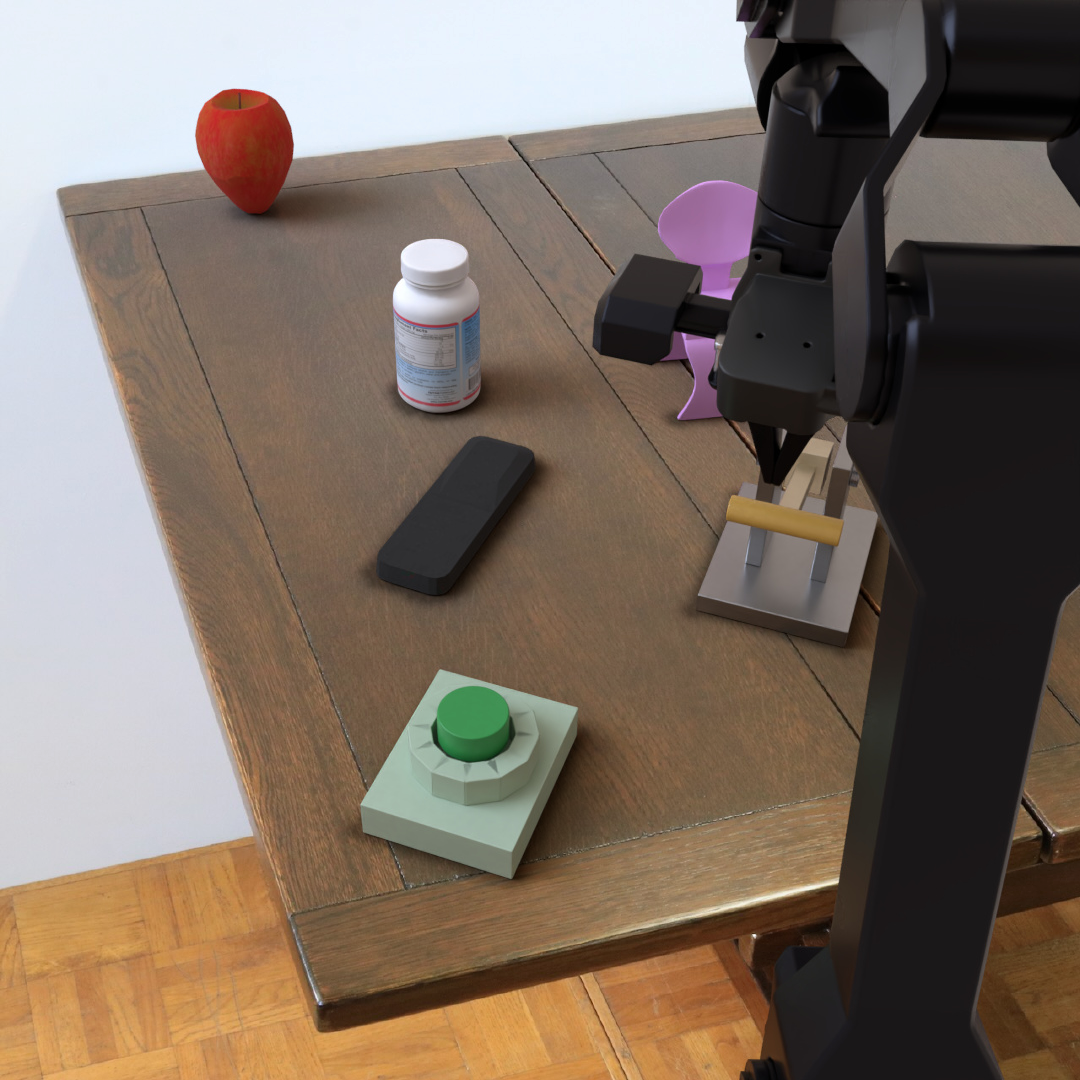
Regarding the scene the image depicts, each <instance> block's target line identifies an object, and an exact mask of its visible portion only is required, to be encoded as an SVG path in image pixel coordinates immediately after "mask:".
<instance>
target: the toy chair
mask: <svg viewBox="0 0 1080 1080" xmlns="http://www.w3.org/2000/svg"><path fill="white" fill-rule="evenodd" d="M757 193H758V191H755V190H753V189H751V188H749V187H748V186H745V185H742V184H739V183H736V182H732V181H730V180H729V181H727V180H721V179H720V180H719V179H718V180H708V181H707V180H706V181H704V182H700V183H698V184H695V185H693V186H691V187H690V188H688V189H687V190H685V191H683V192H682V193H681V194H680V195H677V197H675V198H674V199H673V200H672V201H671V202H670V203H668V205H667V206H666V207H664V209H663V210H662V212H661V214H660V215H659V218H658V223H657V232H658V236H659V238H660V240H661V241H662V243H663V244H664V246H666V247H667V248H668V249H669V250H670V251H671V252H672V254H674V256H675V259H676V260H679V261H680V262H683V263H688V264H694V265H699V266H701V268H702V272H703V280H702V289H701V294H703V295H708V296H713V297H718V298H723V299H729V300H731V299H732V295H733V293H734V291H735V289H736V287H737V285H738V283H739V281H740V279H741V277H731V270H732V267H733V266H732V265H733V264H734V263H735V262H738V261H741V260H743V259H746V258H747V257H749V250H750V243H751V236H752V229H753V222H754V215H755V208H756V201H757ZM714 342H715V339H710V338H705V337H700V336H695V335H690V334H685V333H680V332H675V331H674V338H673V347H672V350H671V352H670V354H669V355H668V356H666V357H665V358H663V359H662V360H660V361H659V362H662V361H675V360H686V359H688V361H689V363H690V366H691V369H692V372H693V377H694V387H693V390H692V392H691V395H690V397H689V398H688V401H687V402H686V403H685V405H684V407H683V408H682V409H681V411H680V412H679V413H678V415H677V416H676V417H677V420H678V421H688V420H699V419H708V418H719V417H723V416H722V415H721V413H720V412H719V411H718V408H717V403H716V400H717V390H715V389H713V388H712V387H711V386H710V385H709V382H708V375H709V373H710V371H711V369H712V366H713V364H714V361H715V354H716V350H714Z"/></svg>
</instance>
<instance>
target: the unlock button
mask: <svg viewBox="0 0 1080 1080" xmlns="http://www.w3.org/2000/svg"><path fill="white" fill-rule="evenodd" d="M437 733H438V741H439V744H440V746H441V747H442V749H443V750H444V751H445V752H446V753H447V754H448V755H450V756H452V757H453V758H455V759H458V760H461V761H467V762H479V761H484V760H488V759H490V758H492V757H494V756H496V755H497V754H499V753H500V752H501V751H502V750H503V749H504V748H505V746H506V744H507V742H508V739H509V707H508V704H507V702H506V701H505V699H504V698H503V697H502V696H501V695H500V694H499V693H497V692H496V691H494V690H492V689H489V688H486V687H481V686H466V687H461V688H458V689H455V690H453V691H451V692H450V693H448V694H447V695H446V696H445V697H444V698H443V699H442V700H441V702H440V703H439V706H438V709H437Z"/></svg>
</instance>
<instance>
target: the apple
mask: <svg viewBox="0 0 1080 1080" xmlns="http://www.w3.org/2000/svg"><path fill="white" fill-rule="evenodd" d="M195 125H196V126H195V131H194V138H195V144H196V150H197V153H198V156H199V158H200V161H201V163H202V166H203V168H204V170H205V171H206V173H207V174H208V176H209V178H210V179H211V180H212V182H213V183H214V184H215V185H216V187H217V188H218V189H219V190H220V191H221V192H222V193H223V194H224V195H225V196H226V197H227V198H228V199H229V200H230V202H232V203H233V204H234V205H235V206H236V207H237V208H238V209H240V210H241V211H243V212H245V213H247V214H258V215H261V214H263V213H265V212H267V211H268V210H269V209H270V208H271V206H272V205H273V204H274V202H275V201H276V199H277V198H278V195H279V193H280V191H282V188H283V186H284V185H285V182H286V180H287V177H288V174H289V171H290V168H291V165H292V163H293V160H294V149H295V143H294V142H295V141H294V137H293V129H292V125H291V123H290V121H289V118H288V116H287V113H286V111H285V110H284V108H283V107H282V106H281V104H280V103H279V102H278V100H277V99H276V98H274V97H273V96H272V95H269V94H268V93H265V92H263V91H260V90H255V89H249V88H228V89H223V90H221V91H219V92H218V93H216V94H215V95H214V96H212V97H210V98H209V99H208V100H207V101H205V102H204V104H203V105H202V108H201V109H200V111H199V113H198V117H197V120H196V124H195Z"/></svg>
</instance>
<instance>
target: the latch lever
mask: <svg viewBox="0 0 1080 1080" xmlns="http://www.w3.org/2000/svg"><path fill="white" fill-rule="evenodd" d="M834 447H835V442H833V441H830V440H829V441H828V440H825V439H820V438H815V437H812V438H811V439H810V441H809V442H808V444H807V445H806V447H805V448H804V450H803V451H802V453H801V455H800V456H799V458H798V459H797V461H796V462H795V464H794V465H793V467H792V468H791V470H790V472H789V473H788V475H787V476H786V478H785V479H784V481H783V486H782V488H785V489H784V491H785V492H784V494H783V496H782V498H781V501H780V503H779V505H776V504H772V503H768V502H763V501H759V500H755V499H750V498H746V497H742V496H737V495H738V494H732V495H731V496H730V498H729V501H728V505H727V508H726V509H727V510H726V514H725V520H726V522H727V521H730V522H734V523H738V524H743V525H747V526H751V527H755V528H760V529H764V530H768V531H772V532H776V533H781V534H785V535H789V536H793V537H798V538H802V539H806V540H810V541H815V542H819V543H823V544H827V545H832V546H836V547H837V546H838V545H839V542H840V538H841V534H842V530H843V525H844V520H841V519H837V518H833V517H828V516H824V515H820V514H815V513H811V512H807V511H802V508H803V505H804V503H805V501H806V498H807V496H809V494H813V495H817V496H821V494H822V491H823V489H824V486H825V483H826V481H827V478H828V475H829V474H828V473H829V471H830V470H829V469H830V465H831V460H832V455H833V452H834Z"/></svg>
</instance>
